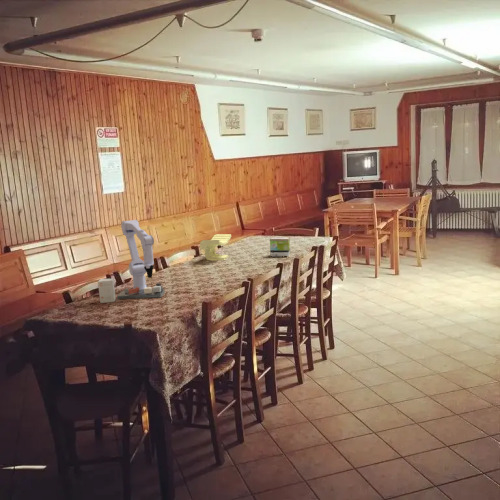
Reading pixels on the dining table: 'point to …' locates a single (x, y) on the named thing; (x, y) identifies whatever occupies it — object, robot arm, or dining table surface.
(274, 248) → the tea box
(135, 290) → the red lever
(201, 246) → the slatted curved stool
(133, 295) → the console
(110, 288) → the small box
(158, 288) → the grey block
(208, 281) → the dining table surface
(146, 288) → the cream block
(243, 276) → the dining table surface
